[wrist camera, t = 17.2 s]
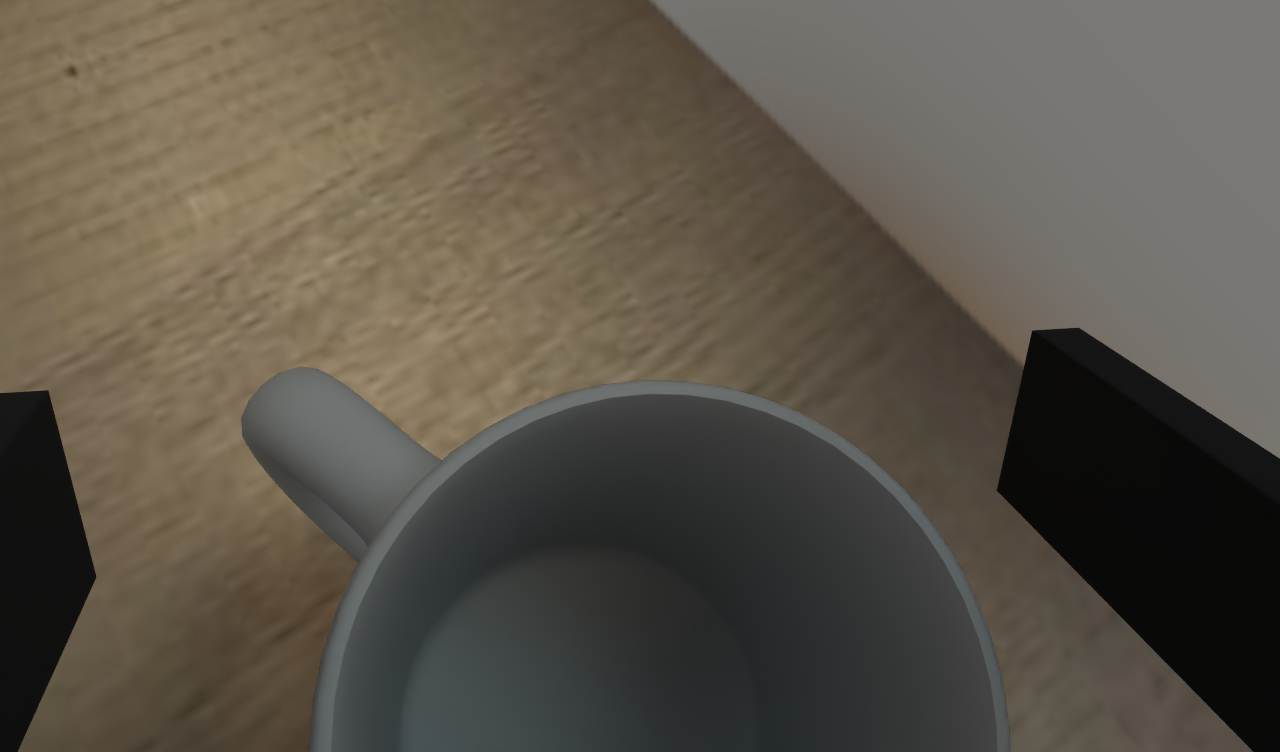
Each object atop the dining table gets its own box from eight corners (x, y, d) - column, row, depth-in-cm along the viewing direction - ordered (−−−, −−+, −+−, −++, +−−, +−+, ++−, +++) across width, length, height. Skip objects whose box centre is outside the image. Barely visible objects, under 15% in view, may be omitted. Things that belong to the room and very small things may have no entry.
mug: (836, 693, 23) (1139, 662, 13) (602, 1041, 20) (757, 1370, 10) (446, 364, 24) (438, 90, 14) (166, 644, 21) (-114, 559, 11)
